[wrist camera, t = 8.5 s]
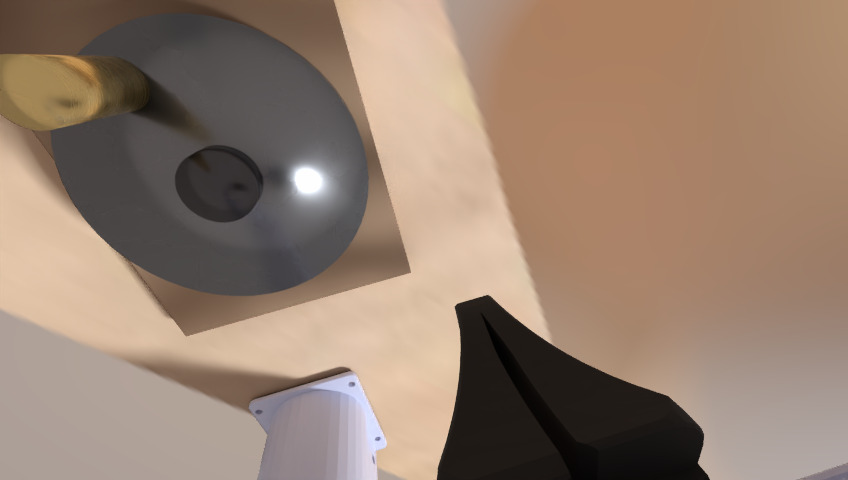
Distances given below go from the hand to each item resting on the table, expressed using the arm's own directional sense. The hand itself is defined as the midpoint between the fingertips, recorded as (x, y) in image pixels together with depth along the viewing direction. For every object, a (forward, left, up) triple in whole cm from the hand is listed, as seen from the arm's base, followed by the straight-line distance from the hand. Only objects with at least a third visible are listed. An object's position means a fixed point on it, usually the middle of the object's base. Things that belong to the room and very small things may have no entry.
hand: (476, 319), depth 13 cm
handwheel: (+6, +9, -8) cm, 13 cm away
